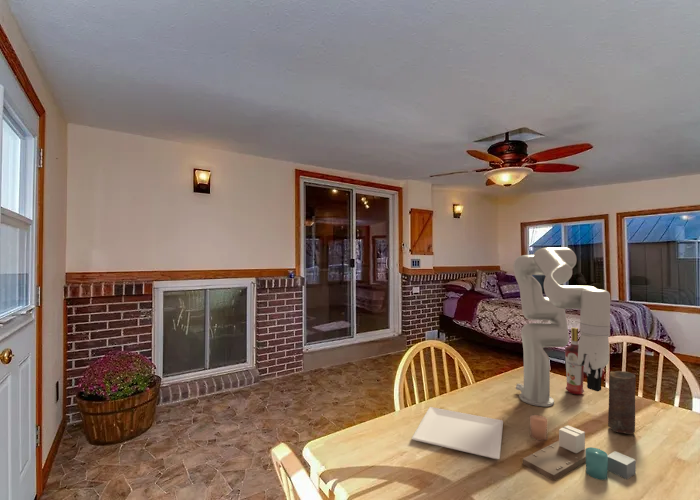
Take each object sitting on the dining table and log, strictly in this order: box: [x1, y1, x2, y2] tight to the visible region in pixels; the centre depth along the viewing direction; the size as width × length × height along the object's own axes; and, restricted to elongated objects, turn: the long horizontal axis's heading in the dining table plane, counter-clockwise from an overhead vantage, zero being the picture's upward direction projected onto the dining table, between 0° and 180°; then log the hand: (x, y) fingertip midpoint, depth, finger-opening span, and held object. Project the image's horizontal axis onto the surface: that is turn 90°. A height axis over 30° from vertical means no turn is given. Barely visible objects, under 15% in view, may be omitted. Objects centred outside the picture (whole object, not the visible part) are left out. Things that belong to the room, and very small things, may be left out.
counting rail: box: [522, 440, 586, 482], centre depth 106 cm, size 9×21×2 cm, turn 122°
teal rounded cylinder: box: [585, 447, 609, 481], centre depth 99 cm, size 5×5×6 cm
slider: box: [558, 424, 586, 453], centre depth 110 cm, size 5×5×5 cm
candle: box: [607, 370, 637, 435], centre depth 123 cm, size 8×7×20 cm
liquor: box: [564, 327, 585, 396], centre depth 156 cm, size 7×7×28 cm
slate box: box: [607, 450, 637, 480], centre depth 100 cm, size 5×5×4 cm
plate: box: [411, 406, 504, 460], centre depth 121 cm, size 26×26×2 cm
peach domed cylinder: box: [529, 414, 548, 441], centre depth 119 cm, size 5×5×6 cm
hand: (594, 389), depth 110 cm, fingers closed
